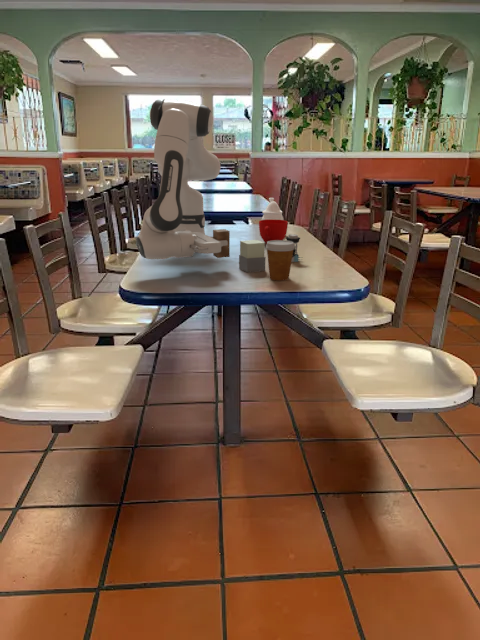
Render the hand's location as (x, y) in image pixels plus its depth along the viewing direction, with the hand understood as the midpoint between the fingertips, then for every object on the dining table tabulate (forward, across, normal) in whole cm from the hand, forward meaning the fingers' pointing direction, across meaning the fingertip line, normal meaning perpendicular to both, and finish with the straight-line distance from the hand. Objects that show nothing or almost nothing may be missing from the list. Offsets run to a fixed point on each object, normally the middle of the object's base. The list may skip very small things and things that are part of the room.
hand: (223, 241), depth 173 cm
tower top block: (+9, -4, +5) cm, 11 cm away
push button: (+30, +2, +11) cm, 32 cm away
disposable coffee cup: (+12, -19, +10) cm, 25 cm away
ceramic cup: (+39, +38, +11) cm, 55 cm away
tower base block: (+9, -4, +10) cm, 14 cm away
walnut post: (-1, 0, +5) cm, 5 cm away
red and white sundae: (+51, +60, +12) cm, 80 cm away
